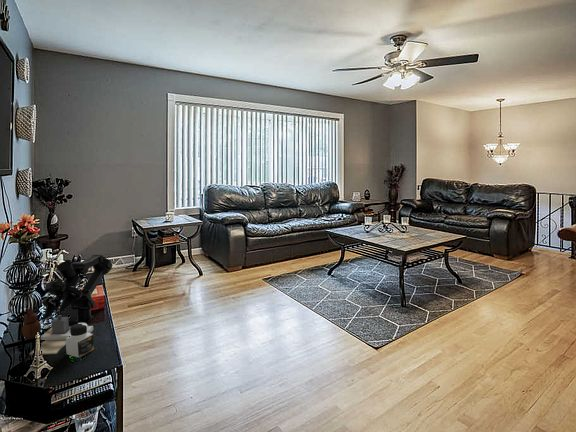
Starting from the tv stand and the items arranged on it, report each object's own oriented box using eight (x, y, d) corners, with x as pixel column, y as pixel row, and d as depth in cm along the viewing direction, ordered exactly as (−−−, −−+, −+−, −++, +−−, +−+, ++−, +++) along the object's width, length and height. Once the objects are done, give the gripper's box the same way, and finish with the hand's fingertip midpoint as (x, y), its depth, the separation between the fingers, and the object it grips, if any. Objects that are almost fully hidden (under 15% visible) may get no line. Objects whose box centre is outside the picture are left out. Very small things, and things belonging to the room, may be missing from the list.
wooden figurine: (30, 342, 149) (27, 309, 146) (19, 340, 150) (16, 308, 148) (44, 334, 155) (41, 303, 153) (34, 333, 156) (31, 302, 154)
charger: (57, 333, 157) (56, 313, 155) (69, 333, 157) (67, 313, 156) (52, 337, 153) (51, 317, 151) (64, 337, 153) (63, 317, 152)
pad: (43, 342, 148) (43, 341, 148) (68, 341, 150) (68, 340, 150) (29, 355, 139) (29, 353, 139) (55, 353, 140) (55, 352, 140)
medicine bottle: (78, 358, 137) (77, 330, 136) (66, 354, 140) (64, 327, 138) (94, 349, 144) (92, 322, 142) (82, 346, 146) (80, 319, 145)
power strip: (52, 331, 159) (52, 325, 158) (93, 329, 161) (93, 324, 160) (41, 340, 150) (40, 335, 149) (84, 339, 152) (84, 333, 152)
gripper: (40, 282, 155) (21, 311, 144) (68, 268, 150) (50, 298, 138) (61, 294, 162) (44, 323, 150) (88, 281, 156) (73, 311, 145)
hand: (52, 314), depth 146 cm, fingers open, 9 cm apart
